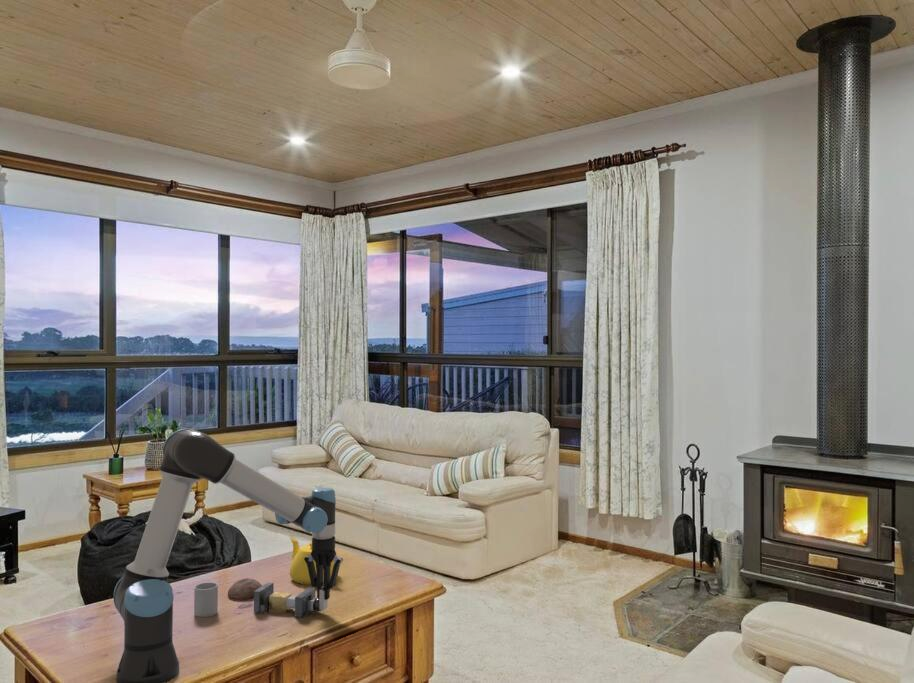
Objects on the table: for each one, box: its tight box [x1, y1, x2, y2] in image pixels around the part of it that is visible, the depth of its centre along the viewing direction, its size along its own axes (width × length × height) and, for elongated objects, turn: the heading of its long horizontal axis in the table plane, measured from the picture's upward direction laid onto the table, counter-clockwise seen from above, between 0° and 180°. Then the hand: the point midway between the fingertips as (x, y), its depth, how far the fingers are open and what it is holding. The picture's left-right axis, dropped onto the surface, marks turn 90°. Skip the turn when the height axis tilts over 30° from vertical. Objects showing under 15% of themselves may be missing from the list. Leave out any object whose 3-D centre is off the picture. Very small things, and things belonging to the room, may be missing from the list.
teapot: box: [289, 537, 334, 586], centre depth 262 cm, size 25×18×14 cm
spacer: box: [268, 591, 292, 614], centre depth 228 cm, size 4×6×5 cm, turn 75°
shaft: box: [286, 595, 322, 612], centre depth 226 cm, size 12×4×4 cm, turn 75°
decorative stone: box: [227, 577, 263, 601], centre depth 243 cm, size 12×12×6 cm
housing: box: [253, 582, 316, 619], centre depth 228 cm, size 18×9×7 cm, turn 75°
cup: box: [193, 581, 219, 618], centre depth 226 cm, size 7×10×9 cm
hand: (323, 608), depth 224 cm, fingers closed
